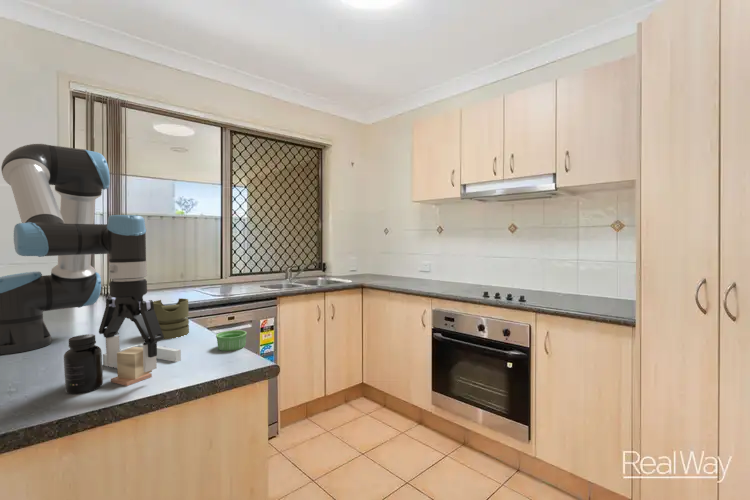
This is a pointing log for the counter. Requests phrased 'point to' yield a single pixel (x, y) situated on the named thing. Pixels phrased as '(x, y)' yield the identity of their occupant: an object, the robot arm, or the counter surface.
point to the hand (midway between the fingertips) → (131, 366)
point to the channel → (162, 354)
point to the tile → (129, 380)
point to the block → (131, 363)
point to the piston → (173, 318)
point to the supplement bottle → (83, 365)
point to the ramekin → (231, 340)
